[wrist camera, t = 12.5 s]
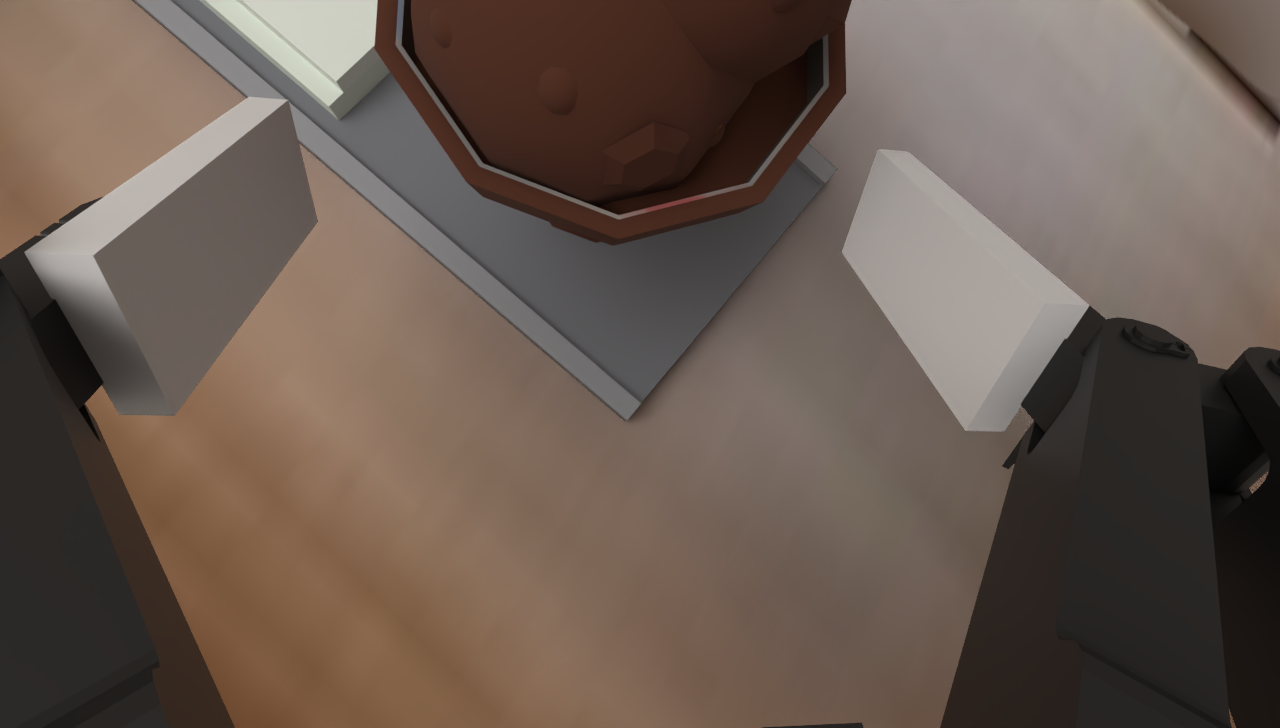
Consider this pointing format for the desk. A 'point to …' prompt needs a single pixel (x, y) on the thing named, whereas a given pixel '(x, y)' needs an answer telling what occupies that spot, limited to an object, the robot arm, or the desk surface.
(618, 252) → the tray
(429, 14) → the ice cream bowl
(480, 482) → the desk surface
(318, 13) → the pale green flat block
